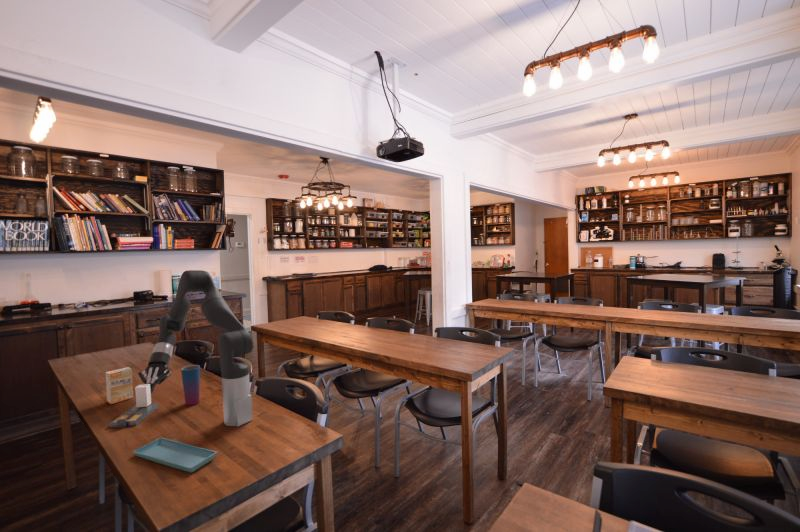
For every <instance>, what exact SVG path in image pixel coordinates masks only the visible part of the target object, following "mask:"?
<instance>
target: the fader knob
mask: <svg viewBox="0 0 800 532" xmlns="http://www.w3.org/2000/svg"><path fill="white" fill-rule="evenodd" d="M134 389H135V405H136V407H148V406H149V405H150V404H151V400H152V393H151V390H150V384H144V383H143V384H138V385H136V386H135V388H134Z"/></svg>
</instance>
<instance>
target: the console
mask: <svg viewBox="0 0 800 532" xmlns="http://www.w3.org/2000/svg"><path fill="white" fill-rule="evenodd" d="M152 400H153V399H151V404H150V405H149V406H148V407H136V404H134V405H132V406H131V407H129V408H128V409H127V410H126V411H124V412H122V414H120V415H119V416H118V417H116V418H115V419H113V420H112V421H110V422H109V428H110V427H111V428H116V429H122V427H124V428H127V427H132V426H133V425H136V426H138V425H139V424H140V423H141V422H142V420H143V421H144V420H145V419H147V418H148V416H150V415H151V414H152V413H153V412H155V411H156V410H157V409H159V407H160V404H159V402H155V403H153V401H152ZM155 409H156V410H155ZM154 410H155V411H154ZM133 427H134V426H133Z"/></svg>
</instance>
